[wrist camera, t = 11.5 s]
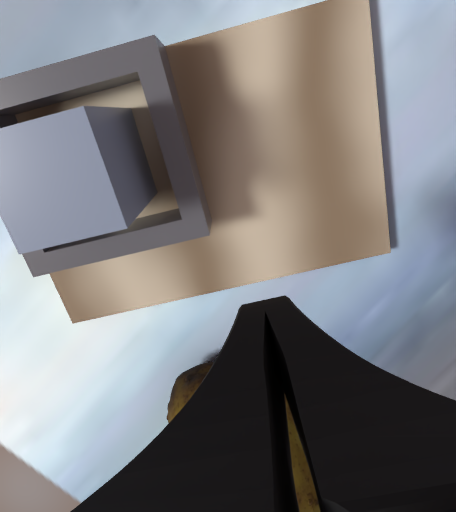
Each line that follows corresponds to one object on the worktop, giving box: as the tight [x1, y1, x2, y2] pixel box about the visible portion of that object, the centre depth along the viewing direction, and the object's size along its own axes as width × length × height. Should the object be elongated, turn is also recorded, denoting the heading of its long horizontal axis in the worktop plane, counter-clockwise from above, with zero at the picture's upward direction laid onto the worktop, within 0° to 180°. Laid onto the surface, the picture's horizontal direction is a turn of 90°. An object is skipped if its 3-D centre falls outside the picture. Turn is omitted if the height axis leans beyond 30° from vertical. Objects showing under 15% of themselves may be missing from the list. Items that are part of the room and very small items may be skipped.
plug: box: [0, 106, 158, 254], centre depth 15 cm, size 4×4×6 cm
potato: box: [167, 362, 320, 512], centre depth 20 cm, size 8×13×8 cm, turn 21°
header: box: [0, 35, 212, 277], centre depth 16 cm, size 9×8×2 cm
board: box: [15, 0, 391, 323], centre depth 18 cm, size 18×12×1 cm, turn 104°
